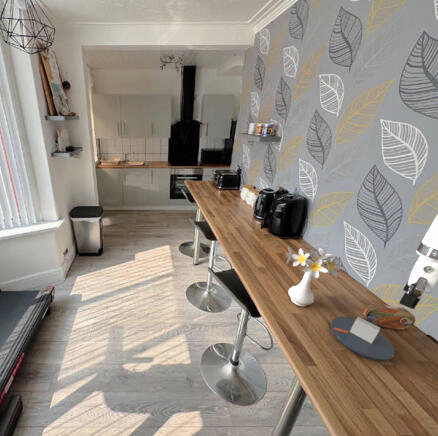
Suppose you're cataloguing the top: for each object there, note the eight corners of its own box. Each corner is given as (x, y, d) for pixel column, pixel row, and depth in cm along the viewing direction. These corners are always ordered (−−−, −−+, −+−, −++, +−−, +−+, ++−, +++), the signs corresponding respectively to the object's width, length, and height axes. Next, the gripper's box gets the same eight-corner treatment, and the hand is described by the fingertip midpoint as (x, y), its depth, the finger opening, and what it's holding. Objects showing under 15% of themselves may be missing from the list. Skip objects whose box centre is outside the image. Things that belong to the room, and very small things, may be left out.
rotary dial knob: (378, 326, 86) (386, 312, 84) (405, 369, 72) (416, 354, 69) (324, 313, 92) (330, 299, 89) (339, 350, 77) (347, 335, 74)
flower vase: (274, 285, 109) (289, 237, 99) (321, 300, 101) (343, 250, 90) (271, 302, 98) (288, 251, 88) (324, 321, 90) (349, 267, 80)
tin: (362, 323, 90) (372, 306, 87) (358, 317, 93) (366, 300, 89) (409, 332, 87) (421, 315, 83) (403, 325, 90) (414, 308, 86)
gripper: (458, 269, 59) (423, 319, 66) (457, 248, 69) (427, 294, 76) (415, 256, 64) (387, 304, 71) (420, 238, 75) (395, 282, 81)
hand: (408, 298), depth 74 cm, fingers open, 9 cm apart
